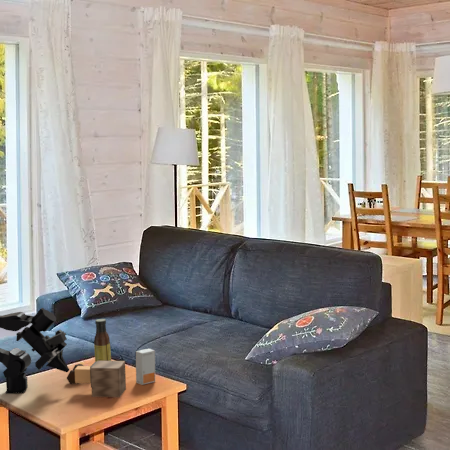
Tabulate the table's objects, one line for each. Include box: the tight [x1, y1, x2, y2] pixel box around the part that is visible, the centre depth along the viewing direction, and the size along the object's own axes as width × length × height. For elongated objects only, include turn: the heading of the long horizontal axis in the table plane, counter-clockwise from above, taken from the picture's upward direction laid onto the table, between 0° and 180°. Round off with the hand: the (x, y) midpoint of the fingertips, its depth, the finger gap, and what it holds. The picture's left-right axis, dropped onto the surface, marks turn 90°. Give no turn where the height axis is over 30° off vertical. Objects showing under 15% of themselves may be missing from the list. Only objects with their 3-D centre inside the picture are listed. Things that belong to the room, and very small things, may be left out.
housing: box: [90, 360, 127, 398], centre depth 259 cm, size 11×9×10 cm
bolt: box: [66, 363, 84, 385], centre depth 277 cm, size 6×5×15 cm
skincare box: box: [135, 348, 156, 386], centre depth 270 cm, size 6×4×12 cm
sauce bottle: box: [93, 318, 112, 362], centre depth 287 cm, size 7×6×20 cm
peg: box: [75, 365, 92, 384], centre depth 260 cm, size 10×4×5 cm, turn 84°
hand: (68, 371), depth 260 cm, fingers closed
